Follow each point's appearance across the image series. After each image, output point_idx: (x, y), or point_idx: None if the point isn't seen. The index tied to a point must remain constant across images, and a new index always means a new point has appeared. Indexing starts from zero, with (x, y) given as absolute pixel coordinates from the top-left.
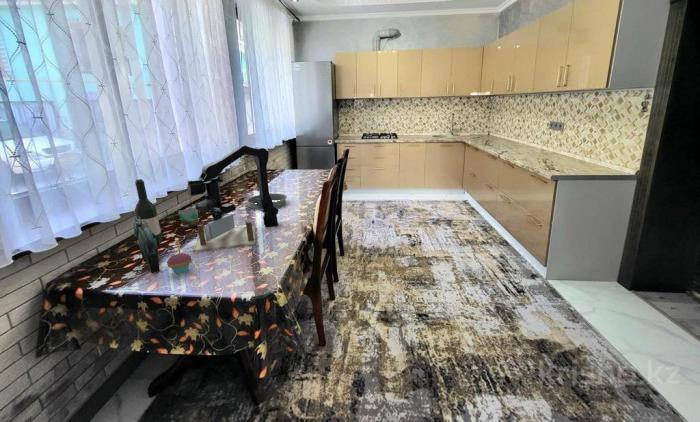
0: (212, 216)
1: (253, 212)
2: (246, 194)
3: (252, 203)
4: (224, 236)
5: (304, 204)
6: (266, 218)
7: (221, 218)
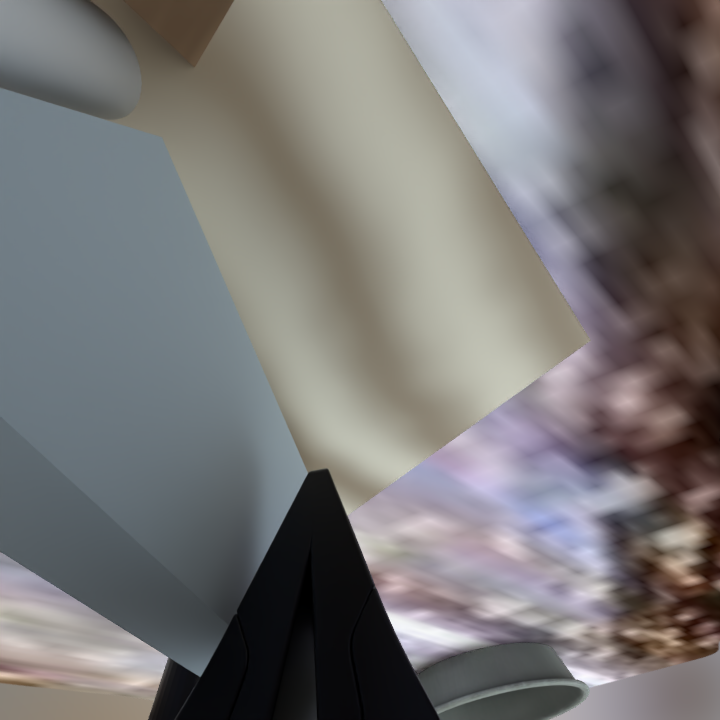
0: (390, 653)
1: (477, 632)
2: (647, 670)
3: (522, 687)
4: None
5: None
6: (193, 675)
7: (204, 638)
